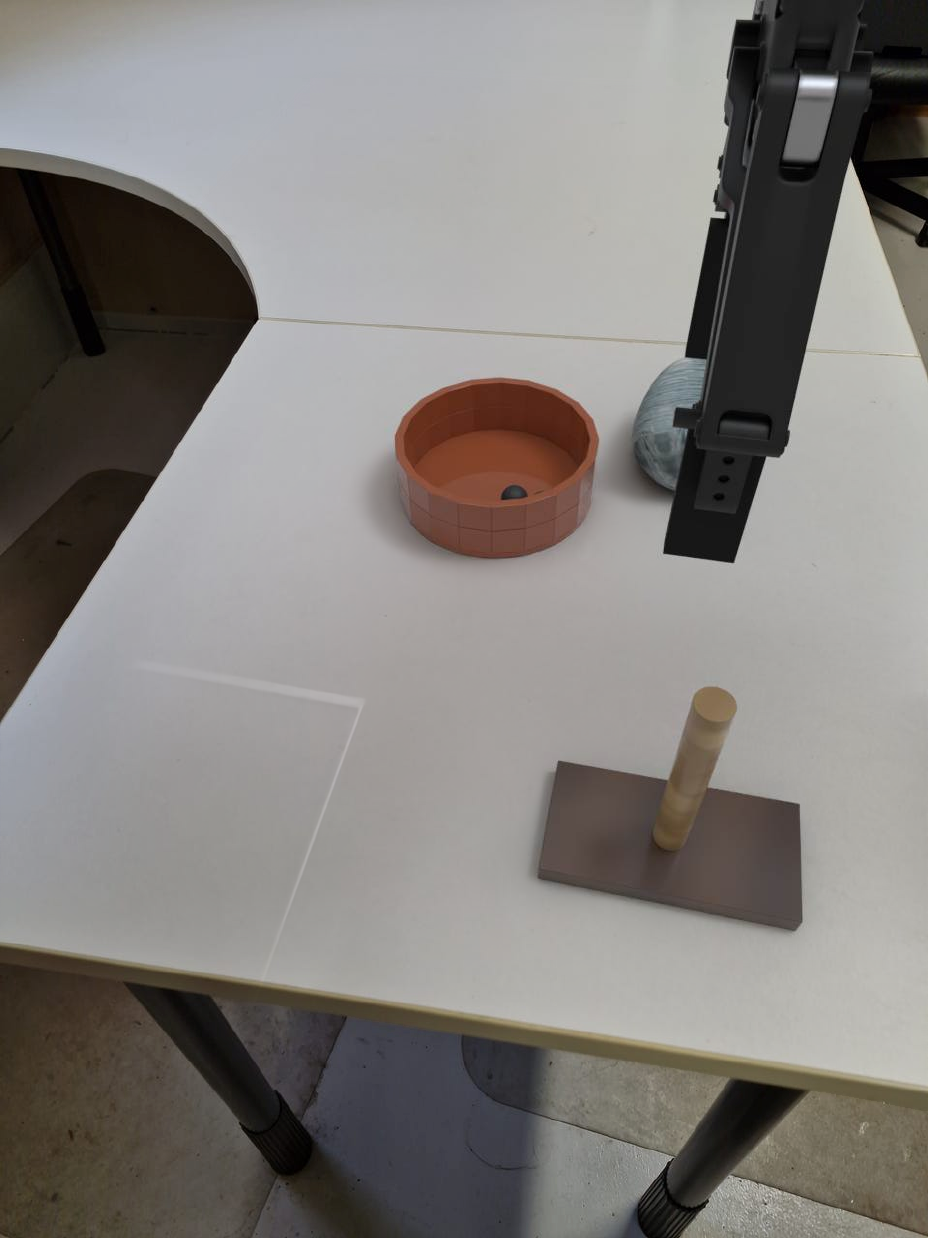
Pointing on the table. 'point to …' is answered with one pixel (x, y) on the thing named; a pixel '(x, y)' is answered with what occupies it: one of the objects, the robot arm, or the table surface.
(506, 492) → the bead
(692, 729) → the stick
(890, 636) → the table surface
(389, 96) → the table surface
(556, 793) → the brown board
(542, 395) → the bowl
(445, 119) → the table surface
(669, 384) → the blue yarn skein
